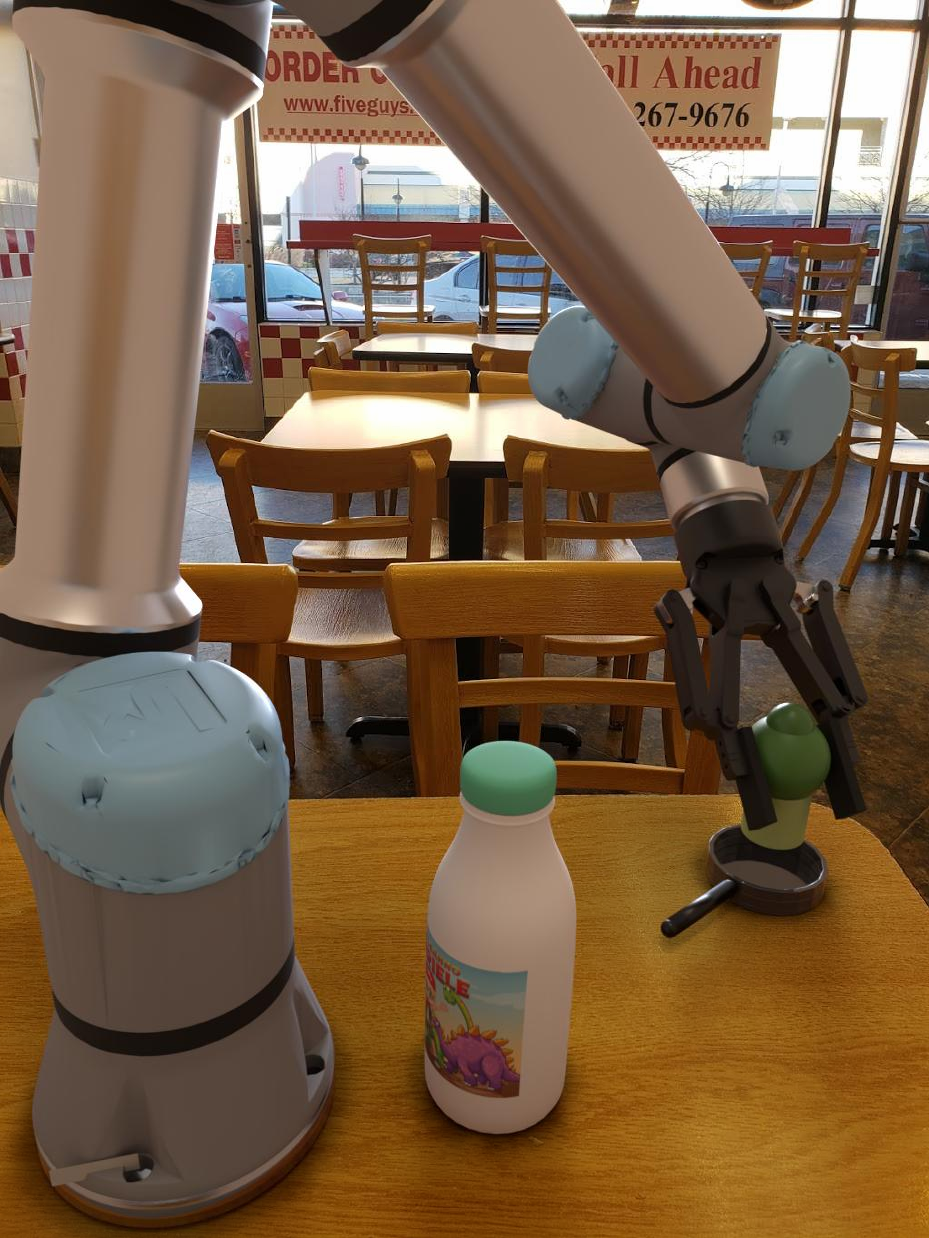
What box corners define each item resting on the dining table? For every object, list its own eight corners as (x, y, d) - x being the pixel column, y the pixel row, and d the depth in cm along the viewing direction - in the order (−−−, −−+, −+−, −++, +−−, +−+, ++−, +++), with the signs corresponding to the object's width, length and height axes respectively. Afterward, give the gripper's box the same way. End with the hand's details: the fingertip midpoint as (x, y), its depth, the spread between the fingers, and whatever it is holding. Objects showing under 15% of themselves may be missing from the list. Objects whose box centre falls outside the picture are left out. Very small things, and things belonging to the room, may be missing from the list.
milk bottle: (509, 1006, 57) (525, 709, 50) (593, 1096, 51) (625, 775, 44) (398, 1060, 53) (397, 746, 45) (475, 1165, 47) (488, 824, 40)
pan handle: (655, 934, 62) (657, 919, 61) (725, 887, 67) (727, 873, 66) (670, 944, 61) (672, 929, 61) (739, 896, 66) (742, 882, 65)
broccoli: (712, 828, 68) (730, 702, 64) (759, 800, 72) (778, 678, 68) (786, 867, 64) (809, 735, 60) (832, 835, 67) (857, 708, 64)
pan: (682, 873, 69) (685, 850, 69) (747, 833, 74) (750, 811, 74) (782, 932, 64) (787, 908, 63) (845, 884, 69) (849, 861, 68)
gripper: (806, 537, 77) (897, 816, 69) (590, 549, 73) (656, 847, 64) (856, 489, 71) (964, 792, 62) (621, 499, 66) (701, 825, 58)
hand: (807, 819), depth 63 cm, fingers closed on broccoli, 6 cm apart
